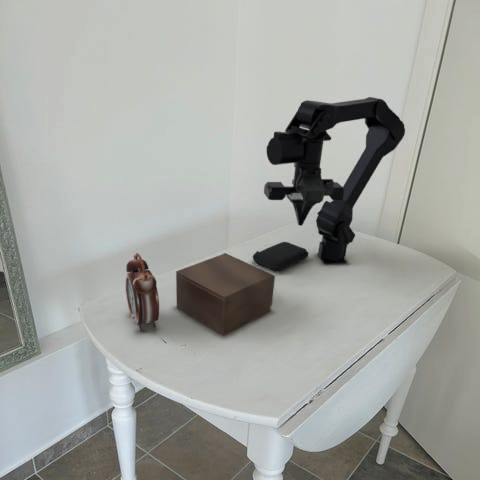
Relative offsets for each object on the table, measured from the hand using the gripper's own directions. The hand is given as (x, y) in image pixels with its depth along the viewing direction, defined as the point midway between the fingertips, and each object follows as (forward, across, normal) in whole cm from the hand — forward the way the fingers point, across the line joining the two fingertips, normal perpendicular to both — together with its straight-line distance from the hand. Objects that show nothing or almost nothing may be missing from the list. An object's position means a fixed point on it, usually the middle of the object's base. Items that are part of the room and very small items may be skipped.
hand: (300, 225), depth 119 cm
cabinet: (+12, -22, -20) cm, 32 cm away
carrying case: (+12, -3, +5) cm, 14 cm away
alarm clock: (+12, -39, -23) cm, 47 cm away
